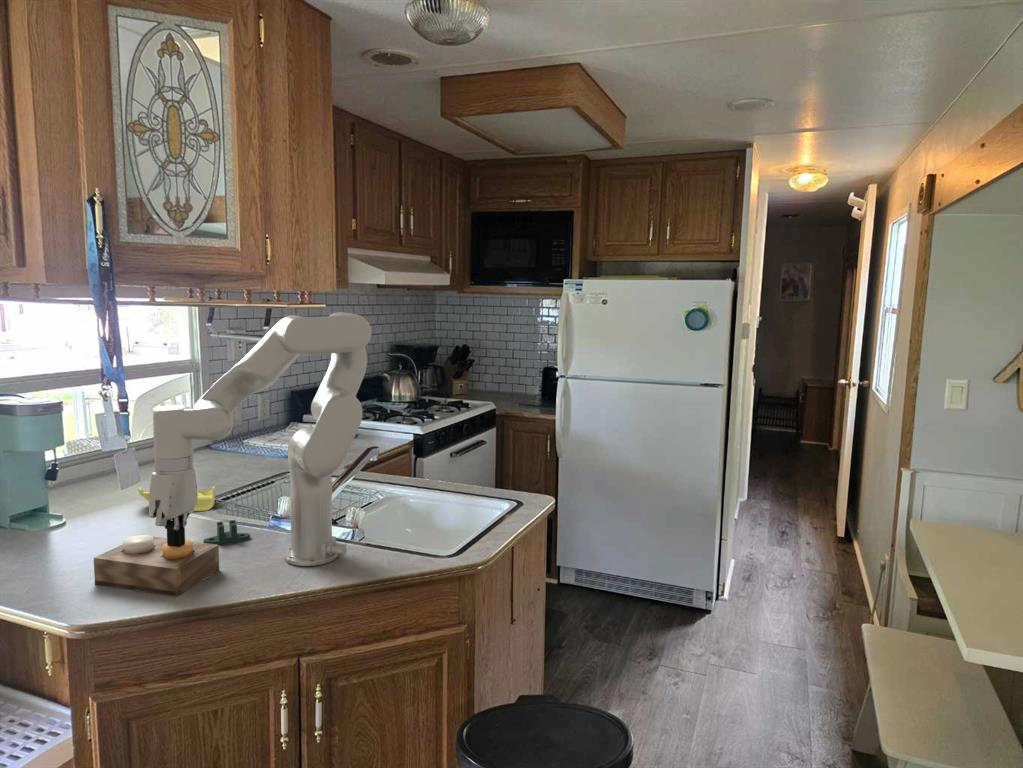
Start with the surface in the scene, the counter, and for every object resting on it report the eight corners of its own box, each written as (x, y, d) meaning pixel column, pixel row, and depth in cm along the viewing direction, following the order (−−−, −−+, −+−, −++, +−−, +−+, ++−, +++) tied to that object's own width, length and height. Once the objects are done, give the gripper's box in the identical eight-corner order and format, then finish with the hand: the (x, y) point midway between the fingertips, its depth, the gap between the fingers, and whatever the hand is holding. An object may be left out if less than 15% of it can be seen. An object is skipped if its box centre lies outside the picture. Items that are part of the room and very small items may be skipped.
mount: (204, 548, 166) (203, 528, 165) (202, 542, 170) (202, 523, 169) (251, 541, 171) (251, 522, 170) (248, 535, 175) (248, 517, 174)
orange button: (199, 567, 149) (199, 541, 148) (181, 578, 143) (180, 551, 143) (176, 564, 150) (175, 538, 150) (156, 574, 145) (155, 548, 144)
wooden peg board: (219, 569, 153) (218, 544, 152) (176, 596, 139) (176, 568, 139) (143, 559, 157) (142, 535, 156) (94, 584, 143) (93, 557, 143)
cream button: (160, 562, 151) (159, 536, 150) (140, 572, 145) (139, 546, 145) (137, 559, 152) (136, 533, 152) (117, 569, 147) (115, 543, 146)
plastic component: (213, 490, 204) (215, 484, 195) (212, 515, 201) (214, 510, 193) (138, 492, 195) (137, 486, 186) (137, 518, 193) (135, 513, 184)
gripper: (182, 454, 152) (184, 531, 154) (132, 470, 137) (135, 555, 139) (212, 457, 150) (213, 535, 152) (164, 473, 136) (167, 560, 138)
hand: (176, 545), depth 146 cm, fingers closed
